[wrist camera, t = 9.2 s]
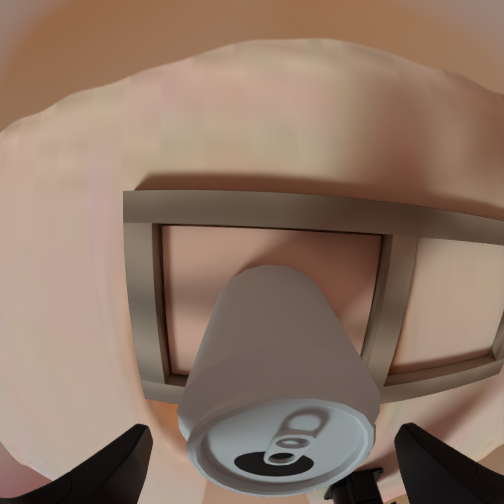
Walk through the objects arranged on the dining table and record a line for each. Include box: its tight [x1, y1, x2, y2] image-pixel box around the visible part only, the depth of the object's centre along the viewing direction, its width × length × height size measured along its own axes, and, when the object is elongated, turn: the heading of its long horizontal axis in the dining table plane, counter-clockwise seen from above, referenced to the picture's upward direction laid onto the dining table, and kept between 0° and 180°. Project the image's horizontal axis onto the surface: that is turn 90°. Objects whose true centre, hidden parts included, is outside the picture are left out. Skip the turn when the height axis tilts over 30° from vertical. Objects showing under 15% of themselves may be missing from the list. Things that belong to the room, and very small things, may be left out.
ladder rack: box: [123, 190, 504, 404], centre depth 18 cm, size 16×36×2 cm, turn 88°
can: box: [177, 265, 380, 497], centre depth 13 cm, size 8×8×12 cm
